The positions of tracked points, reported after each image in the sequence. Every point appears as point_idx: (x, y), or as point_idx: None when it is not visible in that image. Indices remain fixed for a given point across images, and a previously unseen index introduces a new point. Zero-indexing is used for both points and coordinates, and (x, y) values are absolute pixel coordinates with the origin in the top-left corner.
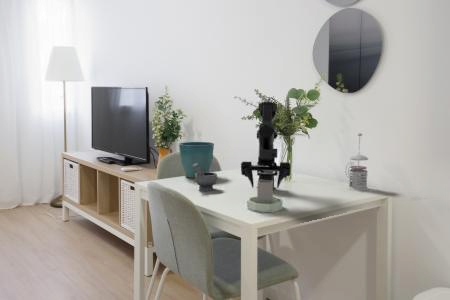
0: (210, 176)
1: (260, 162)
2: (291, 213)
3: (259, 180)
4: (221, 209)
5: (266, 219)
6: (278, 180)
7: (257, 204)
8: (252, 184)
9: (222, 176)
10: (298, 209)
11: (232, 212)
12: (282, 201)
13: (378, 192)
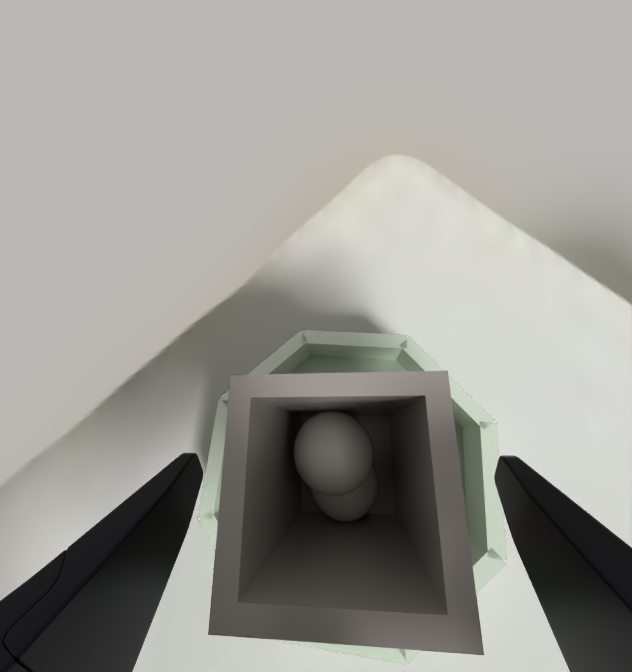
0: None
1: None
2: (192, 345)
3: (444, 571)
4: None
5: (329, 219)
6: (127, 518)
7: (395, 335)
8: (526, 471)
9: None
10: (134, 444)
11: (546, 316)
12: (209, 475)
13: None
